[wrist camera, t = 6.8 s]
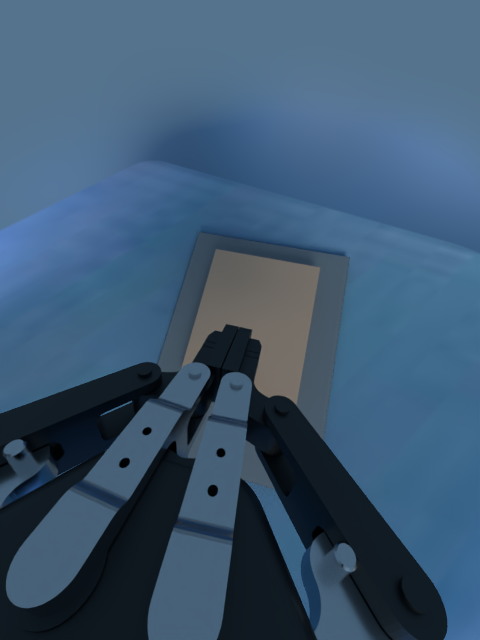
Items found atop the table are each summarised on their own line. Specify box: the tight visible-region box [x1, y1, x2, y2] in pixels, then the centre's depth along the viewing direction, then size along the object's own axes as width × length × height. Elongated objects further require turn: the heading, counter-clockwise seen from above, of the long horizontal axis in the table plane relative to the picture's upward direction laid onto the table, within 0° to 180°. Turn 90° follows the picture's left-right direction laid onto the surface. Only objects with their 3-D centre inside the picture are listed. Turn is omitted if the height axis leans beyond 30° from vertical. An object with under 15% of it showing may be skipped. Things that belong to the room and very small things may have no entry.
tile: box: [182, 249, 320, 405], centre depth 22 cm, size 2×10×13 cm
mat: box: [158, 232, 350, 489], centre depth 23 cm, size 22×16×1 cm
